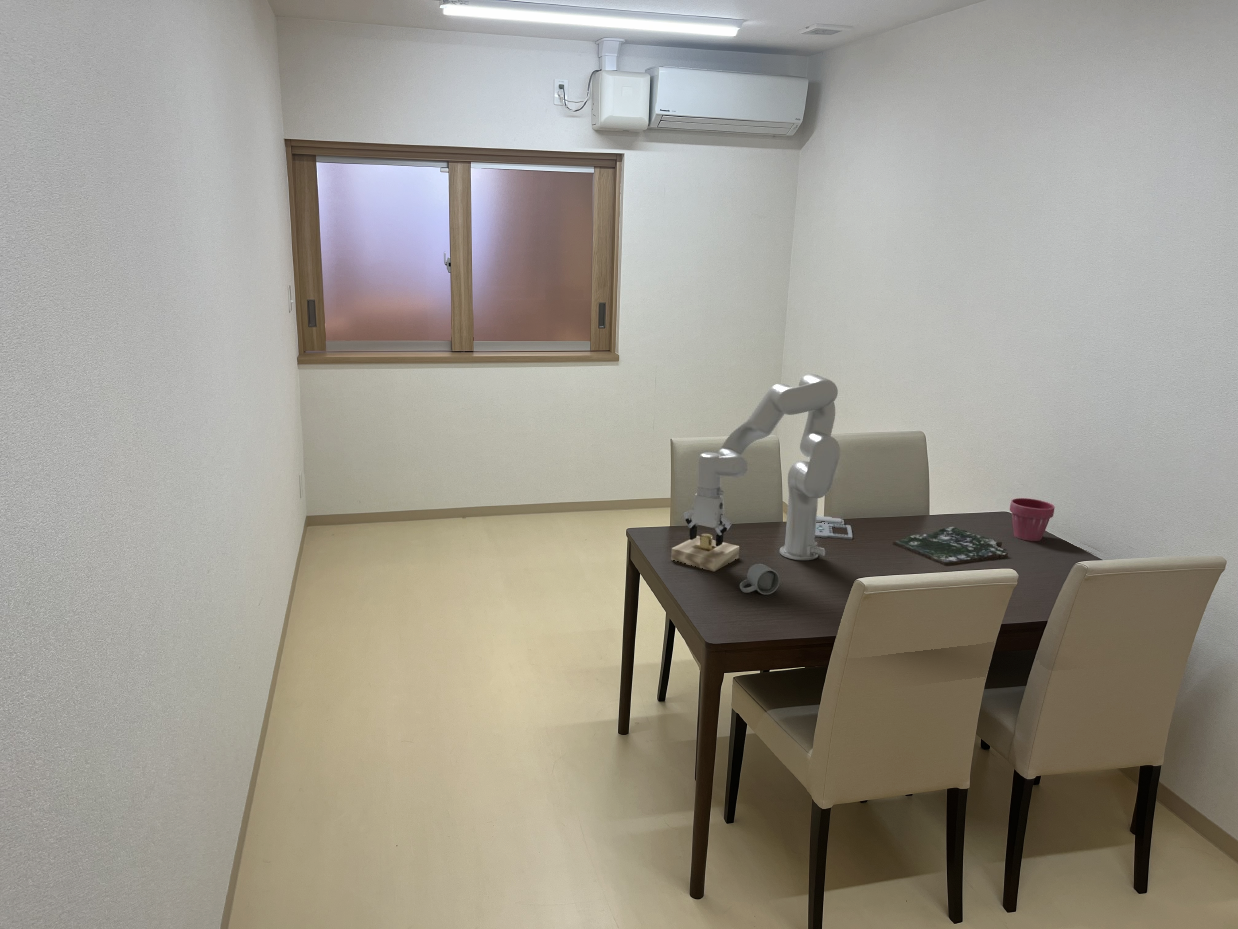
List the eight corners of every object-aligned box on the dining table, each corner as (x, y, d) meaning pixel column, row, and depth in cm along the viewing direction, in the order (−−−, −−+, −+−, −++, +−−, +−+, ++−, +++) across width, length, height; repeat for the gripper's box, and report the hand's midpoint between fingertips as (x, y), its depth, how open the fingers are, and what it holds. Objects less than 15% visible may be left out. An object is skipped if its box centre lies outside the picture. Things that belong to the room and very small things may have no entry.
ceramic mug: (766, 583, 261) (767, 559, 259) (779, 593, 253) (780, 569, 251) (734, 587, 257) (735, 563, 255) (746, 597, 250) (748, 572, 248)
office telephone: (795, 511, 326) (849, 515, 323) (795, 518, 327) (849, 522, 323) (795, 529, 304) (853, 534, 300) (794, 536, 305) (852, 541, 301)
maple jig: (738, 557, 281) (739, 546, 280) (714, 571, 269) (714, 559, 268) (696, 547, 290) (697, 535, 289) (671, 560, 278) (671, 548, 277)
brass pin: (713, 558, 280) (714, 535, 278) (707, 562, 277) (708, 538, 275) (703, 555, 282) (704, 532, 280) (696, 559, 279) (697, 536, 277)
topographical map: (892, 545, 298) (893, 537, 297) (957, 533, 314) (958, 525, 313) (952, 570, 276) (953, 561, 276) (1019, 555, 292) (1020, 547, 291)
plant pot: (1037, 531, 316) (1042, 497, 313) (1057, 544, 303) (1062, 509, 299) (999, 530, 316) (1003, 497, 313) (1017, 543, 302) (1022, 508, 299)
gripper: (738, 493, 272) (735, 545, 276) (691, 484, 282) (689, 533, 286) (726, 499, 266) (723, 551, 270) (679, 488, 276) (677, 539, 280)
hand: (705, 542), depth 278 cm, fingers open, 9 cm apart
